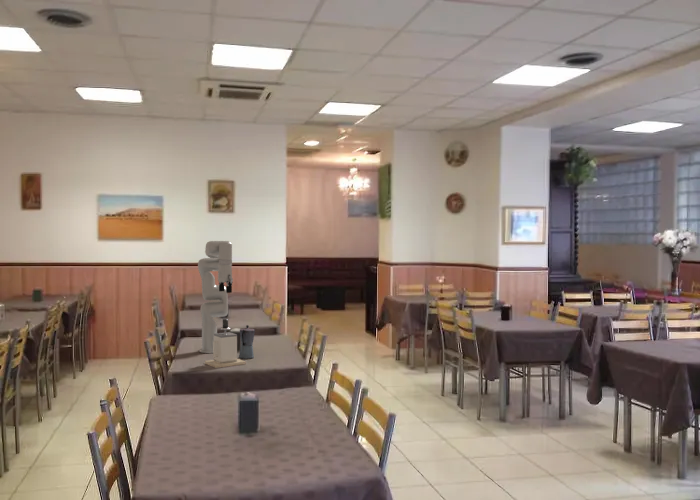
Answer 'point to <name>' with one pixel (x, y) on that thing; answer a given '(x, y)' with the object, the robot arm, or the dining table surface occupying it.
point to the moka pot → (246, 343)
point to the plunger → (225, 326)
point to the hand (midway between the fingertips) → (225, 292)
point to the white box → (225, 351)
